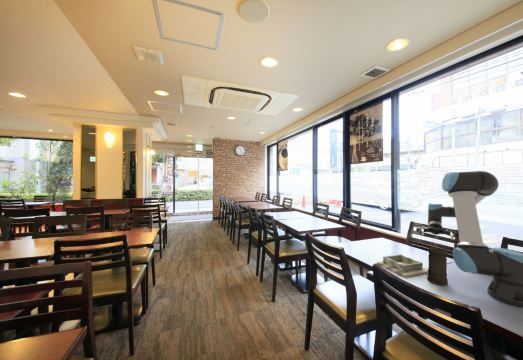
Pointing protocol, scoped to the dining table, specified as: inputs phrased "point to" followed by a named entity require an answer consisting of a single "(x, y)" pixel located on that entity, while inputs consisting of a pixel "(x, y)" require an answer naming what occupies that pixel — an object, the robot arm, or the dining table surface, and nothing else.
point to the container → (437, 266)
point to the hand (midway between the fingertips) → (437, 235)
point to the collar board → (403, 265)
